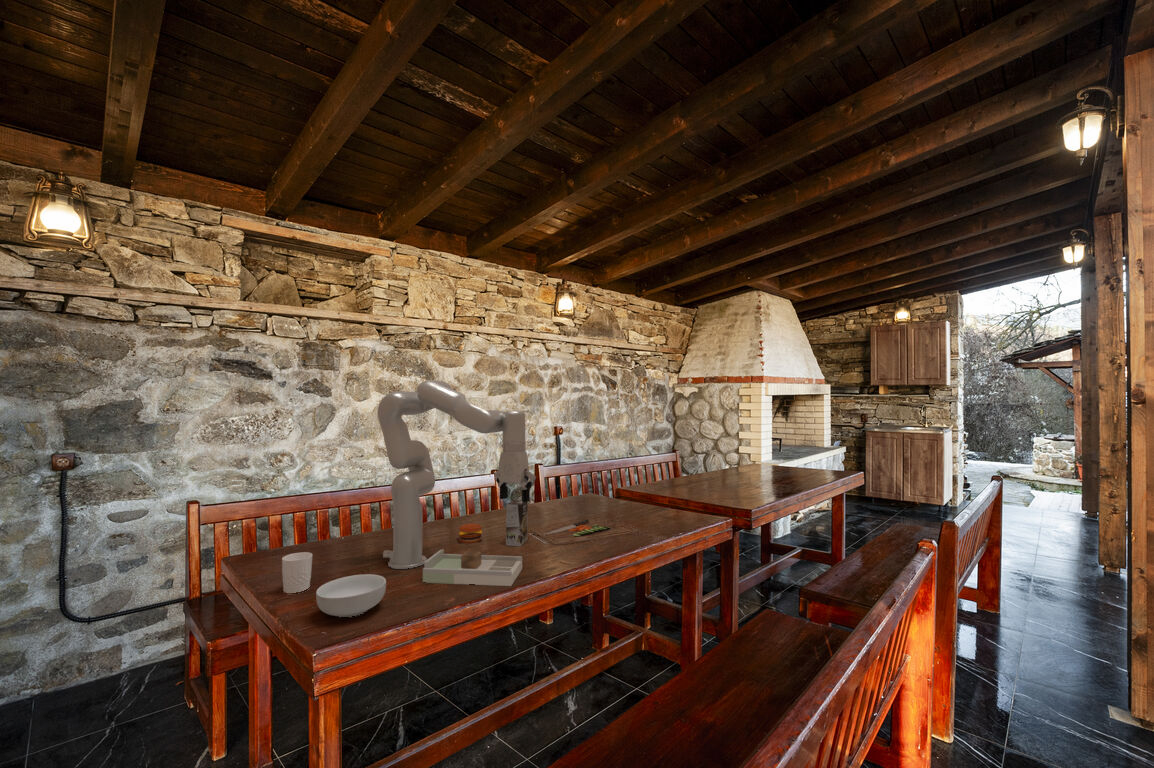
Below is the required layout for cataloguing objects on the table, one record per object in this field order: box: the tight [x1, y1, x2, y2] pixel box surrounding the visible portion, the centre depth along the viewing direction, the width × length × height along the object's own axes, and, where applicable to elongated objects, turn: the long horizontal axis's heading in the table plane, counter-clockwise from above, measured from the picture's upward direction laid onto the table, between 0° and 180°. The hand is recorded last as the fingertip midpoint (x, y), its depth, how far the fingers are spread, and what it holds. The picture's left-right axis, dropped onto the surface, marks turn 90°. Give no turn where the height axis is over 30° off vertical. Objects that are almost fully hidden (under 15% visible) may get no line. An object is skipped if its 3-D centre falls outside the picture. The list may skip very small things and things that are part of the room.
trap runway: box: [422, 549, 523, 587], centre depth 153 cm, size 28×15×6 cm, turn 83°
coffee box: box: [505, 499, 529, 547], centre depth 189 cm, size 9×6×16 cm
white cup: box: [281, 551, 313, 593], centre depth 142 cm, size 8×8×10 cm
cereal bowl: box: [315, 573, 387, 618], centre depth 127 cm, size 17×17×7 cm
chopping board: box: [528, 518, 638, 546], centre depth 205 cm, size 45×27×3 cm, turn 119°
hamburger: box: [458, 522, 483, 544], centre depth 193 cm, size 9×10×7 cm
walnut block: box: [461, 550, 482, 569], centre depth 153 cm, size 5×5×4 cm
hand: (514, 500), depth 156 cm, fingers open, 9 cm apart
